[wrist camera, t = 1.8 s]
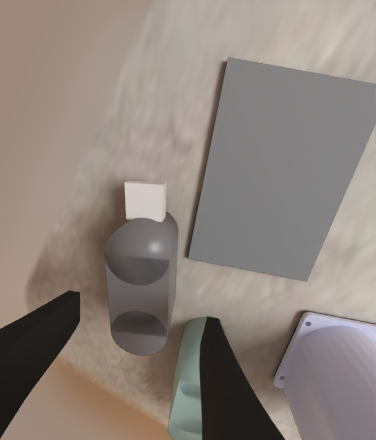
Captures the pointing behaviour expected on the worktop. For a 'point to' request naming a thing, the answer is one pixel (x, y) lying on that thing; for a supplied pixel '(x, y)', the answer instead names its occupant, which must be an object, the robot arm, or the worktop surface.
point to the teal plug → (187, 386)
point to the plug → (142, 270)
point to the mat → (279, 166)
